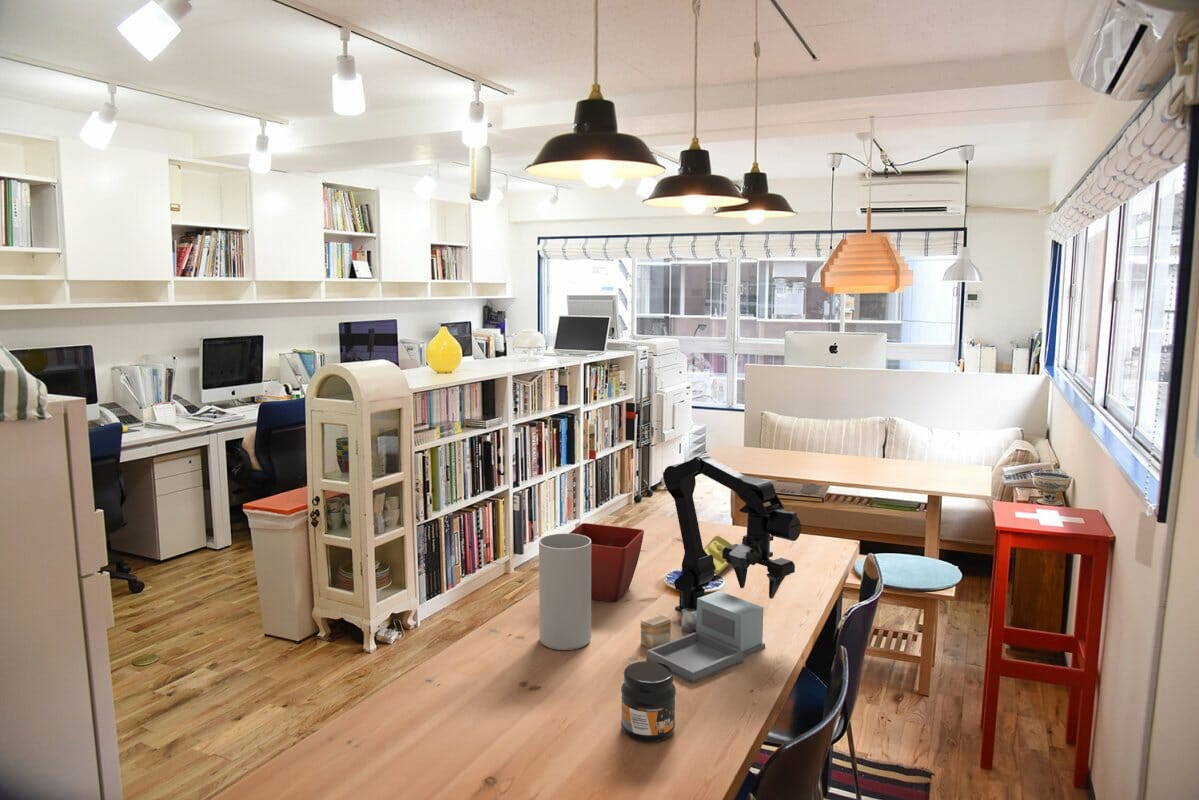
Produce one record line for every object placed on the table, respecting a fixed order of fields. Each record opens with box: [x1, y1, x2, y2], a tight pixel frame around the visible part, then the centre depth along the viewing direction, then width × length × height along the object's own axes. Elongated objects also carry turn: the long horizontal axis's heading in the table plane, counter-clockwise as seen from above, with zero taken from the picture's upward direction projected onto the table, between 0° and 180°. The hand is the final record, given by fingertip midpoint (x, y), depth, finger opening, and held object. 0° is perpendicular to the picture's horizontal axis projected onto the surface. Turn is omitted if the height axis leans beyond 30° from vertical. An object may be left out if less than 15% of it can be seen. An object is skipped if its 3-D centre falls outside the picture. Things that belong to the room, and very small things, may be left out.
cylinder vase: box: [538, 532, 592, 651], centre depth 202 cm, size 12×12×25 cm
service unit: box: [696, 590, 766, 658], centre depth 202 cm, size 15×9×10 cm, turn 40°
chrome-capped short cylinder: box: [680, 608, 697, 635], centre depth 210 cm, size 4×4×5 cm
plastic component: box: [703, 534, 734, 576], centre depth 258 cm, size 20×7×10 cm
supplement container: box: [620, 660, 677, 743], centre depth 162 cm, size 10×10×12 cm
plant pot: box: [569, 522, 645, 603], centre depth 235 cm, size 19×19×17 cm
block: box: [640, 613, 672, 649], centre depth 202 cm, size 4×6×6 cm
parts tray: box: [646, 632, 744, 684], centre depth 192 cm, size 15×17×2 cm
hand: (756, 593), depth 208 cm, fingers open, 9 cm apart
